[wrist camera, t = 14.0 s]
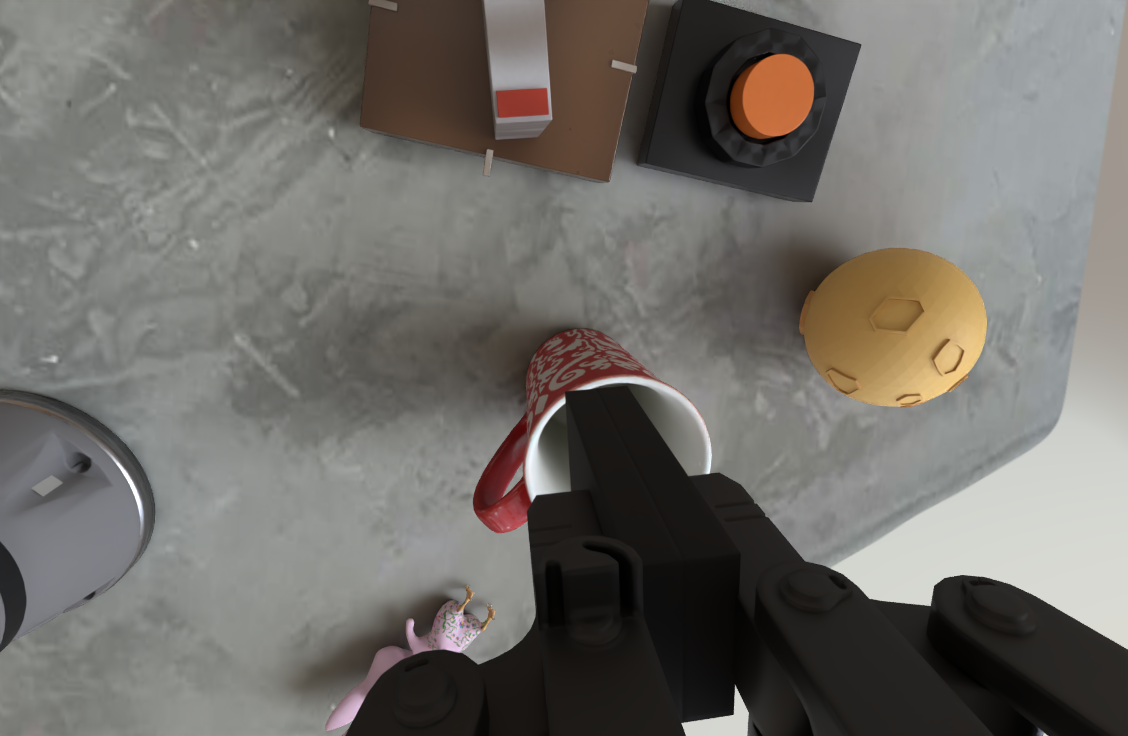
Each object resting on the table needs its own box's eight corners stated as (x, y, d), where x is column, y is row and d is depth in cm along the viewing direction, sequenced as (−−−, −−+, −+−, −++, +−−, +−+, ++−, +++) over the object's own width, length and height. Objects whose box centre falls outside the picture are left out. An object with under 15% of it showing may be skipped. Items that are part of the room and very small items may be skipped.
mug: (603, 287, 37) (659, 338, 25) (664, 394, 40) (743, 490, 27) (443, 385, 38) (416, 483, 25) (514, 483, 41) (522, 616, 28)
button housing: (636, 165, 35) (653, 162, 31) (672, 5, 33) (695, -20, 29) (794, 201, 37) (828, 202, 33) (840, 52, 35) (882, 35, 31)
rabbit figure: (453, 560, 44) (306, 695, 43) (457, 606, 38) (288, 762, 37) (505, 607, 46) (366, 737, 45) (517, 657, 40) (358, 807, 39)
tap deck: (367, 151, 33) (354, 147, 30) (395, -133, 29) (384, -170, 26) (598, 201, 36) (607, 202, 33) (652, -56, 32) (669, -81, 29)
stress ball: (814, 221, 38) (921, 231, 28) (932, 267, 40) (1069, 291, 30) (753, 357, 40) (833, 409, 31) (867, 394, 42) (976, 453, 33)
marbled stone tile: (473, -76, 28) (465, -179, 20) (521, -77, 28) (532, -180, 20) (495, 139, 31) (495, 122, 23) (538, 137, 31) (553, 119, 23)
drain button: (721, 130, 32) (733, 126, 30) (741, 52, 31) (755, 44, 29) (784, 146, 32) (800, 143, 31) (806, 70, 31) (824, 64, 30)
